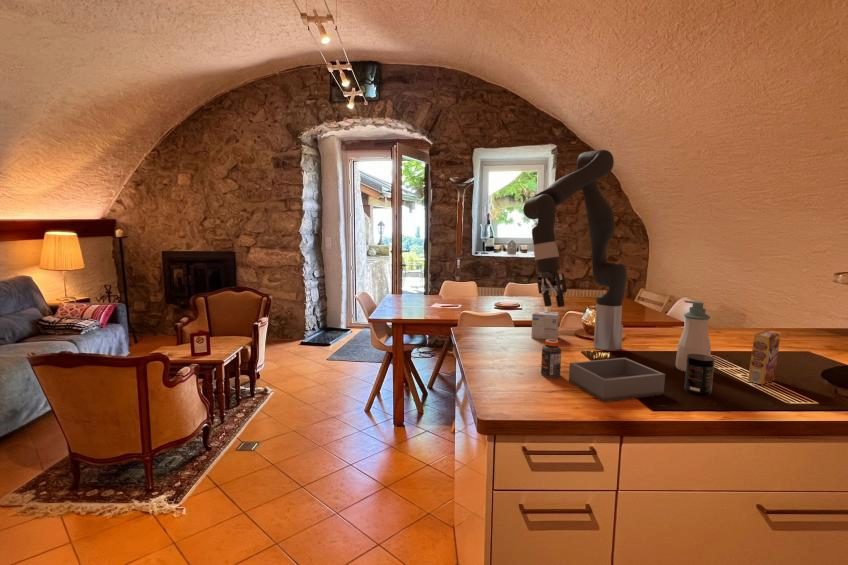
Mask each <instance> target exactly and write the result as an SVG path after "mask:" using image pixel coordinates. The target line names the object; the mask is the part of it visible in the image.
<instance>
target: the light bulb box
mask: <svg viewBox="0 0 848 565" xmlns="http://www.w3.org/2000/svg"><path fill="white" fill-rule="evenodd" d="M559 321H560V313H559V312H555V311H537V310H533V312H532V314H531V337H530V338H531V339H539V340H547V339H555V340H558V338H559V327H560V324H559V323H560V322H559Z"/></svg>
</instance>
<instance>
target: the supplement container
mask: <svg viewBox="0 0 848 565" xmlns="http://www.w3.org/2000/svg"><path fill="white" fill-rule="evenodd" d="M715 361H716V360H715V358H714V357H713V356H711V357H710V356H707V355H702V354H688V355H687V363H686V372H685V378H684V386H683V388H684V390H685V392H686V393H688V392H689V394H690V393H691V394H690V395H693V394H695V395H694V396H698V395H702V396H701V397H707V396H706V395H708V396H710V395H711V394H712V390H713V381H714V380H713V379H714V366H715Z"/></svg>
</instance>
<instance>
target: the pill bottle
mask: <svg viewBox="0 0 848 565" xmlns="http://www.w3.org/2000/svg"><path fill="white" fill-rule="evenodd" d="M544 343H545V344H544V346H542V348H541V364H540V365H541V366H540V374H541V375H542V376H543V377H547V378H551V379H553V378H559V377H560V376H561V370H562V369H561V367H562V366H561V365H562V364H561V363H562V349H561V347H560V346H559V343H560V342H559V340H558V339H557V340H555V339H545V342H544Z"/></svg>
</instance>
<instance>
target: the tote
mask: <svg viewBox="0 0 848 565" xmlns="http://www.w3.org/2000/svg"><path fill="white" fill-rule="evenodd" d="M568 370H569V371H568V373H569V374H568V382H569V383H571V384H572V385H574V386H575V387H577V388H579V389H580V390H582V391H584V392H585V393H587V394H589V395H591V396H592V397H594V398H596V399H598V400H599V401H601V402H603V403H604V402H605V403H607V402H613V401H622V400H629V399H630V400H631V399H639V398H648V397H654V396H655V395H656V396H663V395H662V394H664V393H665V380H666V374H665V373H663V372H660V371H658V370H655V369H654V368H652V367H649V366H646V365H644V364H641V363H640V362H637V361H635V360H632V359H629V358H628V357H615V358H608V359H607V358H605V359H598V360H597V359H596V360H595V359H593V360H586V361H573V362H569V368H568Z"/></svg>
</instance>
